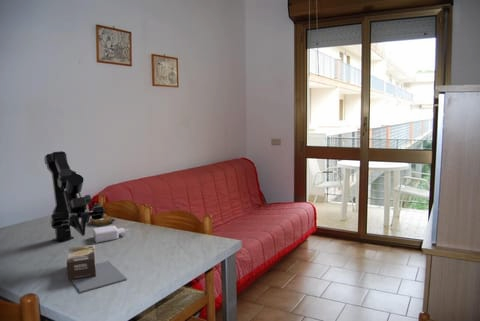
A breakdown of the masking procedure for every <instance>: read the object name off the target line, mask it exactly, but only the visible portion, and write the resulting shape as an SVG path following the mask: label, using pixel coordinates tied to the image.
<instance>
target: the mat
mask: <svg viewBox="0 0 480 321" xmlns="http://www.w3.org/2000/svg"><path fill="white" fill-rule="evenodd" d="M65 273H66V274H67V270H66V271H65ZM124 281H128V278H127V277H126V276H125V275H124V274H123V273H122V272H121V271H120V270H118V268H116V267H115V266H114V265H113V264H112V263H111V262H110V261H109V260H106V261H102V262H99V263H96V276H94V277H88V278H81V279H75V280H71V282H72V283H73V285H74V286H75V287H76V289H77V291H78V292H79V293H80V294H81V293H86V292H89V291H92V290H96V289H99V288H103V287H107V286H111V285H114V284H117V283H120V282H124Z"/></svg>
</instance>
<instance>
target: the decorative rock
mask: <svg viewBox="0 0 480 321" xmlns="http://www.w3.org/2000/svg"><path fill="white" fill-rule="evenodd" d="M89 221H90V222H91V223H93V224H94V225H95V226H96V227H106V226H109V225H110V224H111V223H113V222H115V221H116V219H115V218H114V217H113V216H109V215H107V214H106V213H104V216H103V218H102V219H97V220H94V219H92V217H90V219H89Z"/></svg>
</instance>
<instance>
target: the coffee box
mask: <svg viewBox="0 0 480 321" xmlns="http://www.w3.org/2000/svg"><path fill="white" fill-rule="evenodd" d="M96 254H97V253H96V247H95V244H92V245H90V244H89V245H83V246H75V247H69V248H68V253H67V259H66V271H67V273H66V275H67V281H72V280H75V279H81V278H88V277H94V276H96V264H97V255H96Z"/></svg>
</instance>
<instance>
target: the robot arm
mask: <svg viewBox="0 0 480 321" xmlns="http://www.w3.org/2000/svg"><path fill="white" fill-rule="evenodd" d="M67 156H68V155H67V153H66V151H62V150H61V151H60V150H59V151H53V152H51V153H47V154H45V156H44V158H43V159H44V164H45V166H46V169H47V170H48V172H49V173H50V174H51V177H52V178H51V179H52V186H53V187H52V188H53V194H54V195H53V196H54V203H55V204H54V205H55V206H54V208H53V210H52V214H51V216H50V225H51V228H52V229H53V230H54V231H55V232H54V233H55V238H53V239H52V241H56V242H59V243H63V242H65V241H69V240H72V239H74V238H75V237H74V236H72V233H71V227H72V228H73V229H74V230H76V231H77V232H78V233H79V234H80V235H81V236H84V237H85V235H86V225H87V224H88V223H90V222H89V221H90V219H91V218H92V219H94V220H97V219H102V218H103V216H104V214H105V212H106V209H105V207H104V206H103V205H99V206H93V207H92V209H91V210H88V211H87V208H88V207H87V206H88V205H89V204H91V203H92V197H91V194H86V195H84V196H82V194H81V192H82V190H83V189H82V188H83V184H84V177H83V176H82V175H80V173H79V174H78V173H77V172H76V171H74V170H72V169H71V167H70V165H69V163H68V157H67Z"/></svg>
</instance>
